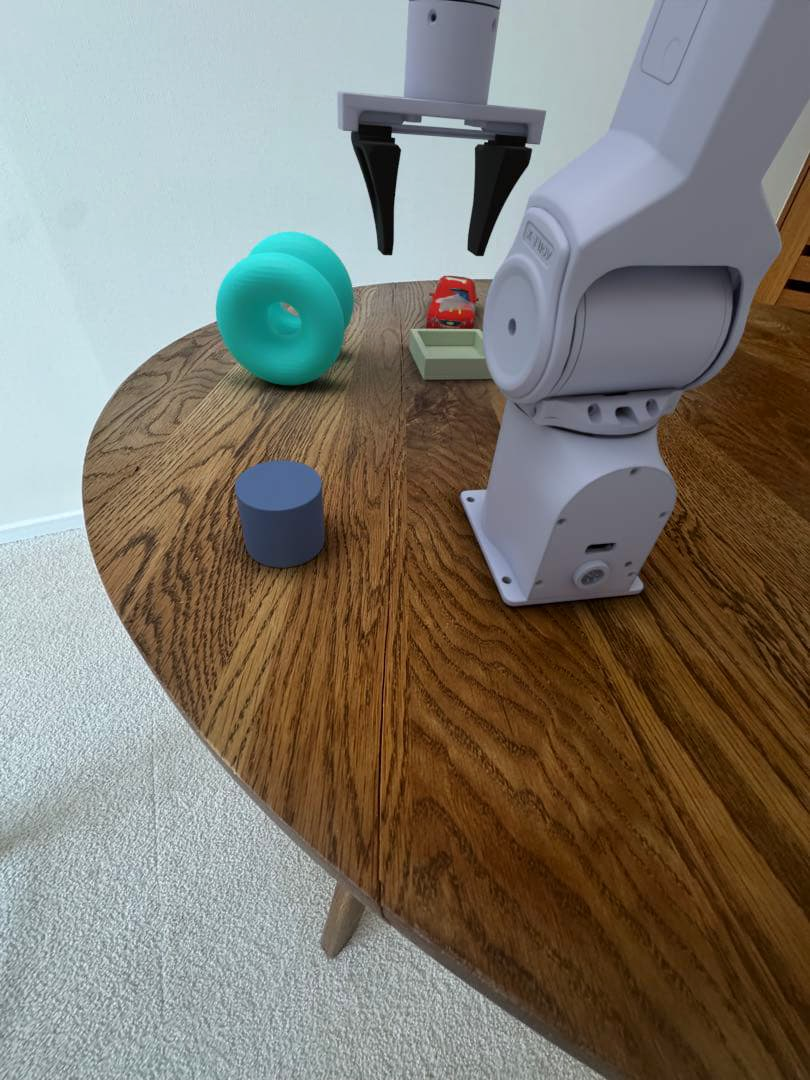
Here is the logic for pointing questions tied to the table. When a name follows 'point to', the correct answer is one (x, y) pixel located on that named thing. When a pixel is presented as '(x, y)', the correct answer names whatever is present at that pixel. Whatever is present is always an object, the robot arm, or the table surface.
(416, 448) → the table surface
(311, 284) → the turquoise spool
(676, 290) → the robot arm
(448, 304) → the race car
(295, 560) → the cylinder
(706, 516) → the table surface
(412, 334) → the tray
